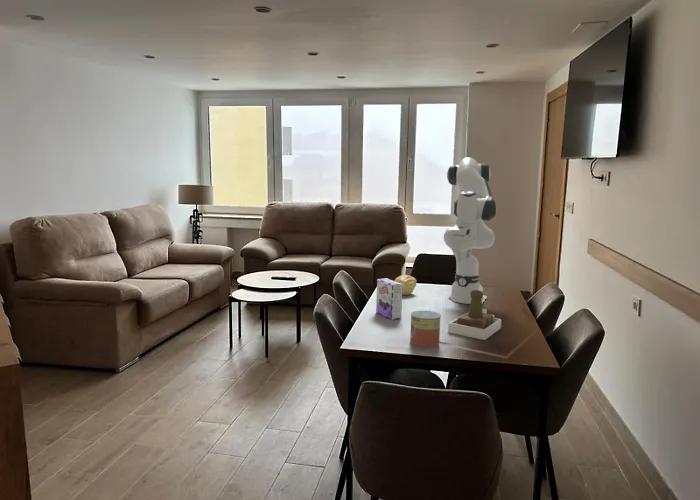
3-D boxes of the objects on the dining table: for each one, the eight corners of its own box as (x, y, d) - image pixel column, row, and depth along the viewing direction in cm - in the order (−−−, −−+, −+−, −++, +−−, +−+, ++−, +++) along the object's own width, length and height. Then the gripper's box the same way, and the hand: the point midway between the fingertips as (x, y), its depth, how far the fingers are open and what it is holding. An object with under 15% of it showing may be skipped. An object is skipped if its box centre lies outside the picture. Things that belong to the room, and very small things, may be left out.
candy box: (375, 312, 238) (376, 278, 235) (386, 311, 240) (387, 277, 238) (390, 320, 226) (392, 284, 223) (401, 318, 228) (403, 283, 226)
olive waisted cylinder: (485, 316, 209) (487, 290, 208) (478, 319, 205) (479, 293, 203) (472, 313, 213) (474, 288, 212) (465, 316, 209) (466, 290, 207)
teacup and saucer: (496, 318, 234) (497, 310, 233) (487, 321, 228) (487, 313, 228) (480, 314, 240) (480, 306, 239) (470, 317, 235) (471, 309, 234)
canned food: (407, 339, 199) (408, 310, 197) (435, 339, 200) (436, 310, 198) (412, 349, 188) (414, 318, 186) (442, 349, 189) (444, 318, 187)
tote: (465, 323, 223) (466, 312, 222) (500, 330, 214) (501, 319, 213) (447, 334, 207) (448, 322, 206) (484, 342, 198) (485, 330, 197)
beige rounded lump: (405, 297, 269) (406, 277, 267) (388, 293, 278) (389, 274, 276) (418, 294, 277) (419, 275, 275) (402, 290, 285) (403, 272, 284)
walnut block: (469, 324, 219) (470, 310, 218) (492, 328, 213) (493, 314, 212) (457, 332, 207) (457, 317, 206) (480, 336, 202) (481, 322, 201)
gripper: (467, 225, 229) (465, 255, 232) (449, 230, 213) (448, 262, 215) (481, 226, 226) (479, 256, 228) (464, 232, 209) (462, 264, 212)
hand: (463, 259), depth 222 cm, fingers open, 8 cm apart
